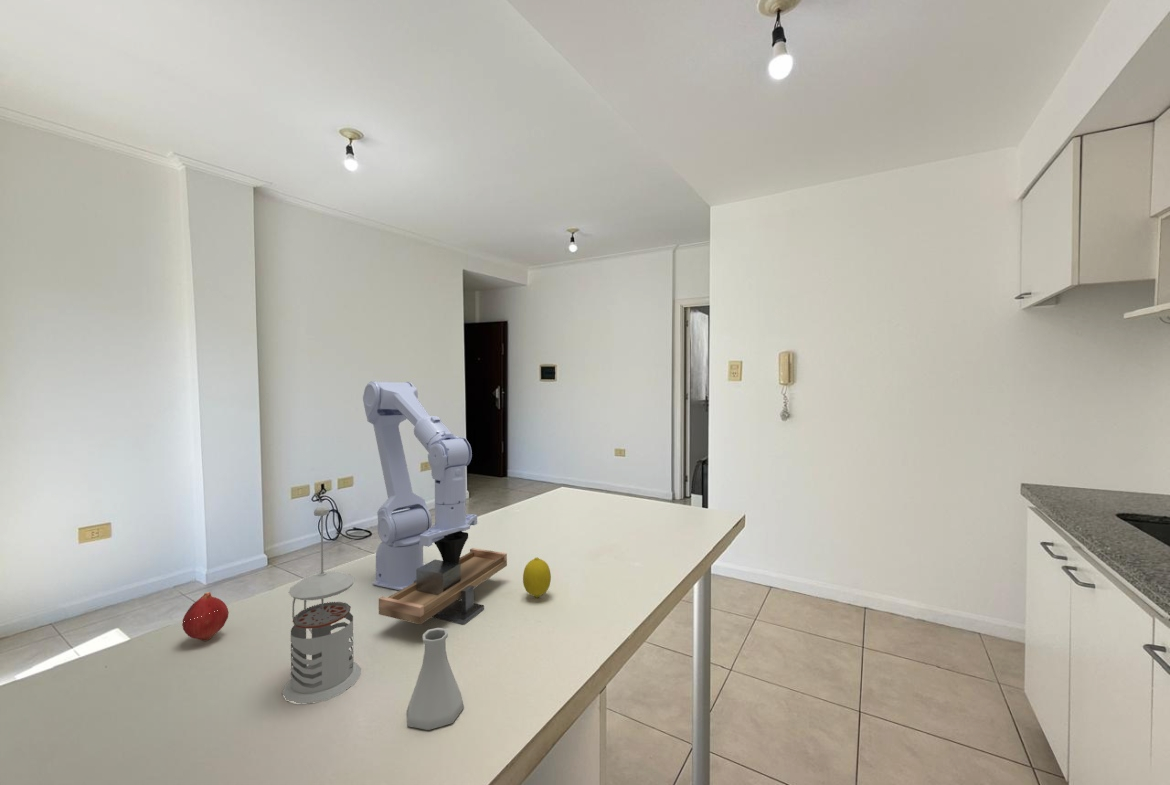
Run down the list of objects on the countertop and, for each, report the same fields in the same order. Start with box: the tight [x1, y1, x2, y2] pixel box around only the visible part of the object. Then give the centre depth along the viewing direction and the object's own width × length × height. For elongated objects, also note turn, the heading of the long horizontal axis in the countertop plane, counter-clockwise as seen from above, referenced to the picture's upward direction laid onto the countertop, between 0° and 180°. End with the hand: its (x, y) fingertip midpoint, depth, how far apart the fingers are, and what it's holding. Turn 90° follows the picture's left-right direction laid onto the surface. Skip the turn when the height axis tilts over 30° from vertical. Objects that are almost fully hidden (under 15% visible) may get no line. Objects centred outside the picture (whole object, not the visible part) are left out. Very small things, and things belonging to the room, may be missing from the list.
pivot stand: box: [414, 580, 485, 626], centre depth 85 cm, size 14×6×5 cm, turn 68°
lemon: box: [522, 557, 552, 599], centre depth 90 cm, size 6×6×8 cm
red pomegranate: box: [181, 591, 230, 642], centre depth 75 cm, size 6×6×8 cm
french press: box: [282, 505, 362, 705], centre depth 65 cm, size 10×12×25 cm
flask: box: [406, 627, 465, 731], centre depth 58 cm, size 7×7×10 cm
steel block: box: [416, 559, 461, 595], centre depth 84 cm, size 6×5×4 cm
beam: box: [378, 547, 508, 625], centre depth 87 cm, size 9×26×3 cm, turn 158°
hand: (451, 571), depth 87 cm, fingers closed
